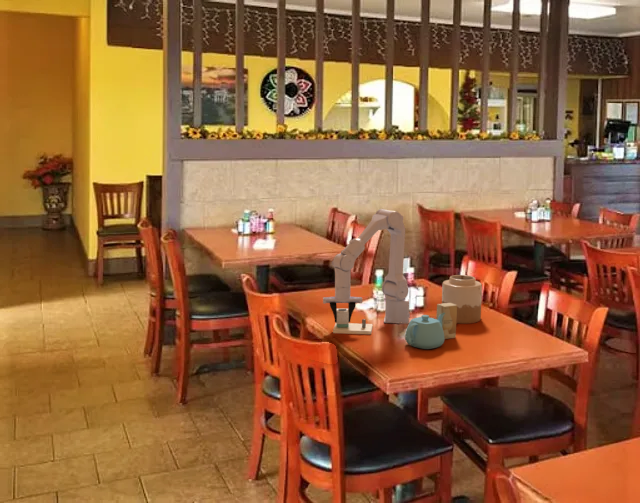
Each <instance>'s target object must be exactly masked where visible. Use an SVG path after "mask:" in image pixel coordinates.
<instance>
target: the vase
mask: <svg viewBox="0 0 640 503" xmlns="http://www.w3.org/2000/svg"><path fill="white" fill-rule="evenodd" d="M482 285H483V284H482V283H481V282H480V281H478V280H476V277H474V276H472V275H469V274H468V275H465V274H455V275H454V274H453V275H450V277H449V279H446V280H444V281H443V282H442V285H441V286H442V287H441V304H443V303H452V304H455V305H457V318H456V324H464V325H465V324H466V325H467V324H475V323H478V322H480V321H481V318H482V296H483V295H482V294H483V292H482V291H483V286H482Z"/></svg>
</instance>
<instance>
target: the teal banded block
mask: <svg viewBox="0 0 640 503" xmlns="http://www.w3.org/2000/svg"><path fill="white" fill-rule="evenodd" d="M336 315H337V323H335V324H336V325H337V327H349V323H350V322H349V310H348V308H337V312H336Z"/></svg>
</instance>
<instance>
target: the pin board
mask: <svg viewBox="0 0 640 503" xmlns="http://www.w3.org/2000/svg"><path fill="white" fill-rule="evenodd" d="M366 320H367V319H366V318H362V319H361V323H356V322H355V323H352V322H349V327H337V325H336V323H335V324H334V326H333V329H332V333H333V334H345V335H346V334H347V335H348V334H349V335H351V334H352V335H372V333H373V327H374V326H373V325H374V324H373V323H367V321H366Z"/></svg>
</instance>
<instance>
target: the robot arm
mask: <svg viewBox="0 0 640 503" xmlns="http://www.w3.org/2000/svg"><path fill="white" fill-rule="evenodd" d="M380 230H387V232H389V234H390V240H389V241H390V242H389V259H388V260H389V261H388V273H387V275H386V276H384V281H383V283H382V285H381V292H382V293H383V295H384V298H385V308H384V309H385V310H384V311H385V314H384V319H383V323H386V324H405V325H406V324H408V325H409V323H410V321H409V320H410V316H411V314H410V299H408V298H407V297H408V295H409V288H408V281H407V279H406V277H405V275H404V274H403V273H404V259H405V257H404V256H405V243H406V240H405V239H406V227H405V223H404V216H403V215H402V214H401V213H400V212H399V211H397V210H389V209H385V208H380V209H378V210H377V211H376V212H375V213H373V215H372V217H371V220H370V221H369V223H368V224H367V225H366V227H365V228H364V230H363V231H362V232H361V234H360V235H359V236H358V237H357V238H352V239H350V240H349V241H348V244H347V245H346V246H345V247H344V248H343V249H342V250H341V252H340V253H337V254H336V255H335V256H334V257H333V260H332V261H331V266H333V268H334V289H335V290H334V296H328V297H327V296H326V297H322V304H324V305H325V304H329V306H330V309H331V312H332V314H333V318H334V323H335V324H336V323H337V315H336V312H337V309H338V308H337V307H338V306H337V304H348V306H347V307H348V308H347V309H348V310H349V323H351V320H352V319H351V318H352V316H353V315H352V314H353V312H354V310H355V308H356V307H357V306H356V305H357V304H363V297H361V296H351V280H352V279H351V278H352V277H351V270H352V269H353V268H354V266H355V262H356V260H357V258H358V257H359V256H360V255H361V254H362V253H363V252H364V250H366V248H365V246H366V244H367V242H369V240H371V239H372V238H373V237H374V235H375V234H376V233H378V232H379V231H380Z"/></svg>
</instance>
